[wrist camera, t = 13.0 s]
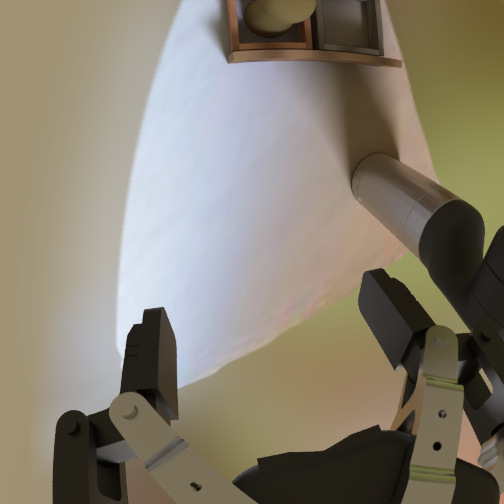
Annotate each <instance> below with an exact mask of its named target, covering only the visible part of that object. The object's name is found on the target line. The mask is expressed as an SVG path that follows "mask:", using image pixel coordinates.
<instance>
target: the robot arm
mask: <svg viewBox="0 0 504 504" xmlns="http://www.w3.org/2000/svg"><path fill="white" fill-rule="evenodd" d="M352 191H353V194H354V196H355V198H356V200H357V201H358V202H359V203H360V204H361V205H362V206H363V207H365V208H366V209H367V210H368V211H369V212H370V213H371V214H372V215H373V216H374V217H375V218H377V219H378V220H379V221H380V222H381V223H382V224H383V225H384V226H385V227H386V228H387V229H388V230H389V231H390V232H391V233H392V234H394V235H395V236H396V237H397V238H398V239H399V240H400V241H401V242H402V243H403V244H404V245H405V246H406V247H407V248H408V249H409V250H410V251H411V252H412V253H413V254H414V255H415V256H416V257H417V258H418V259H419V260H420V261H421V262H422V263H423V264H424V266H425V267H426V268H427V269H428V272H429V275H430V277H431V279H432V280H433V282H434V283H435V285H436V286H437V287H438V288H439V289H440V291H441V292H442V293H443V294H444V296H445V297H446V298H447V300H448V301H449V302H450V304H451V305H452V306H453V308H454V309H455V311H456V312H457V313H458V315H459V316H460V318H461V319H462V320H463V322H464V323H465V325H466V326H467V327H468V329H469V330H470V331H471V333H461V334H455V333H454V332H453V331H452V330H451V329H449V328H448V327H446V326H442V325H436V324H435V323H434V322H433V320H432V319H431V318H430V317H429V315H428V314H427V312H426V311H425V310H424V309H423V307H422V306H421V305H420V303H419V302H418V301H416V298H415V297H414V296H413V295H412V294H411V292H410V291H409V290H408V288H407V287H406V286H405V285H404V284H403V283H402V282H400V281H399V280H397V279H395V278H390V277H389V275H388V274H387V273H386V272H385V270H384V269H382V268H379V269H374V270H370V271H366V272H364V274H363V278H362V283H361V288H360V293H359V298H358V305H359V309H360V312H361V314H362V315H363V317H364V319H365V320H366V322H367V324H368V326H369V327H370V329H371V331H372V332H373V334H374V336H375V337H376V339H377V340H378V342H379V344H380V346H381V347H382V349H383V351H384V353H385V354H386V356H387V358H388V360H389V361H390V363H391V365H392V367H393V368H394V370H395V371H396V370H399V369H401V368H405V370H406V371H407V372H406V374H405V377H404V382H403V387H402V392H401V397H400V402H399V406H398V410H397V414H396V416H395V419H394V421H393V423H392V425H391V428H390V430H382V431H381V429H380V427H379V425H376V426H373V427H371V428H368V429H365V430H362V431H360V432H357V433H354V434H351V435H350V436H348V437H346V438H345V439H343V440H342V441H340V442H338V443H336V444H335V445H333V446H331V447H330V448H328V449H326V450H324V451H315V452H287V453H283V454H278V455H273V456H268V457H263V458H258V459H257V461H258V465H255V466H253V467H251V468H249V469H247V470H246V471H244V472H243V473H241V474H240V475H239V476H237V477H236V478H235V479H234V480H233V481H232V482H230V481H229V480H227V479H226V478H225V477H224V476H223V475H221V474H220V473H219V472H218V471H217V470H216V469H215V468H213V467H212V466H211V465H210V464H209V463H208V462H207V461H206V460H205V459H204V458H202V457H201V456H200V455H199V454H198V453H197V452H196V451H195V450H194V449H193V448H192V447H191V446H190V445H189V444H188V443H187V442H185V441H184V440H183V439H181V437H180V436H179V435H178V434H177V433H175V431H174V430H173V429H172V428H171V427H170V420H178V398H177V397H178V396H177V347H176V340H175V335H174V332H173V330H172V327H171V324H170V322H169V319H168V316H167V314H166V311H165V309H164V307H159V308H152V309H145V310H144V313H143V320H142V324H134V325H133V327H132V328H131V330H130V332H129V333H128V335H127V341H126V349H125V355H124V356H125V358H124V363H123V371H122V380H121V389H120V394H119V396H117V397H116V398H115V399H114V400H113V401H112V403H111V405H110V407H109V408H108V409H106V410H103V411H100V412H97V413H95V414H91V415H88V416H86V415H84V414H83V413H82V412H80V411H76V410H71V411H68V412H66V413H64V414H63V415H62V416H61V417H60V418H59V420H58V422H57V425H56V433H55V444H54V458H53V460H54V461H53V504H128V495H127V485H126V471H125V461H127V460H130V459H133V458H136V457H139V458H140V459H141V460H142V462H143V463H144V464H145V466H146V470H147V471H148V472H149V474H150V475H151V476H152V477H153V479H154V480H155V481H156V482H157V483H158V484H159V485H160V486H161V487H162V488H163V490H164V491H165V492H166V493H167V494H168V495H169V496H170V497H171V498H172V499H173V500H174V501H175V502H176V503H177V504H499V500H500V495H501V494H502V493H503V492H504V226H502V227H500V229H498V231H497V233H496V234H495V236H494V238H493V240H492V242H491V244H490V247H489V249H488V251H487V253H486V255H485V257H484V259H483V247H484V236H485V227H484V221H483V219H482V216H481V214H480V213H479V212H478V211H477V210H476V209H475V208H474V207H473V206H471V205H470V204H468V203H467V202H465V201H464V200H462V199H461V198H460V197H458V196H457V195H455V194H453V193H452V192H450V191H449V190H447V189H445V188H444V187H442V186H441V185H439V184H438V183H436V182H434V181H433V180H431V179H429V178H428V177H426V176H424V175H423V174H421V173H419V172H417V171H416V170H414V169H412V168H410V167H409V166H407V165H405V164H403V163H402V162H400V161H398V160H396V159H394V158H392V157H390V156H388V155H387V154H383V153H376V154H372V155H370V156H368V157H366V158H365V159H364V160H362V161H361V163H360V164H359V165H358V166H357V168H356V170H355V172H354V175H353V178H352ZM481 368H482V369H483V370H484V372H485V374H486V375H487V377H488V379H489V380H490V382H491V384H492V386H493V393H492V394H491V392H490V390H489V389H488V387H487V385H486V383H485V382H484V380H483V378H482V376H481V375H480V373H479V371H480V369H481ZM463 409H464V411H465V413H466V415H467V417H468V419H469V421H470V423H471V425H472V427H473V429H474V432H475V434H476V436H477V438H478V440H479V442H480V445H481V452H480V456H479V457H478V464H479V465H480V466H482V468H480V467H478V466H475V465H473V464H471V463H468V462H466V461H464V460H462V459H459V458H457V452H458V445H459V438H460V430H461V422H462V412H463Z"/></svg>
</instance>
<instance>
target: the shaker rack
mask: <svg viewBox="0 0 504 504" xmlns="http://www.w3.org/2000/svg"><path fill="white" fill-rule="evenodd" d="M358 1H363V2H366V12H367V23H368V36H369V49H368V48H361V47H353V46H344V45H333V44H325V38H324V25H323V14H322V3H321V0H316V7H315V10H314V12H313V13H312V15H311V16H310V17H309V18H307V19H306V20H304V21H302V22H298V35H299V43H296V42H267V43H243V44H239V33H238V21H237V10H236V0H226V6H227V17H228V28H229V39H230V50H231V52H232V53H231V54H230V55H228V56H227V57H228V64H230V63H242V62H258V61H325V62H341V63H353V64H363V65H371V66H383V67H399V68H402V60H396V59H391V58H385V57H378V56H384V48H383V31H382V19H381V9H380V0H358ZM310 49H312V50H310Z"/></svg>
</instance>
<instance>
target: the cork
mask: <svg viewBox="0 0 504 504" xmlns="http://www.w3.org/2000/svg"><path fill="white" fill-rule="evenodd" d="M315 7H316V0H254V1H253V2H251V3H250V4H249V5H248V6H247V7H246V9H245V12H244V22H245V24H246V26H247V28H248V29H249V30H250V31H251V32H252V33H254V34H256V35H257V36H260V37H264V38H275V37H278V36H281V35H282V34H283V33H285V32H286V31H287V30H288V29H289V28H290V26H291V25H292V24H293V23H298V22H302V21H304V20H306V19H307V18H309V17H310V16H311V15H312V13H313V12H314V10H315Z"/></svg>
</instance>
